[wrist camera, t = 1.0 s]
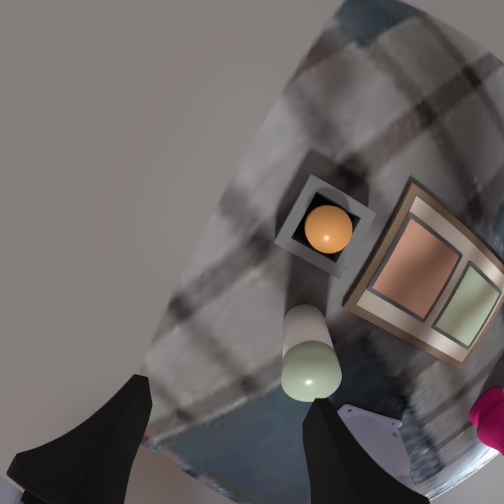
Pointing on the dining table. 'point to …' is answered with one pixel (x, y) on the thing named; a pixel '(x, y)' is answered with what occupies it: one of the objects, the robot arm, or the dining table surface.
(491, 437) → the pepper mill
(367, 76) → the dining table surface
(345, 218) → the button
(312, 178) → the button housing
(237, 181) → the dining table surface
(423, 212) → the picture board
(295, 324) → the white and green cylinder
